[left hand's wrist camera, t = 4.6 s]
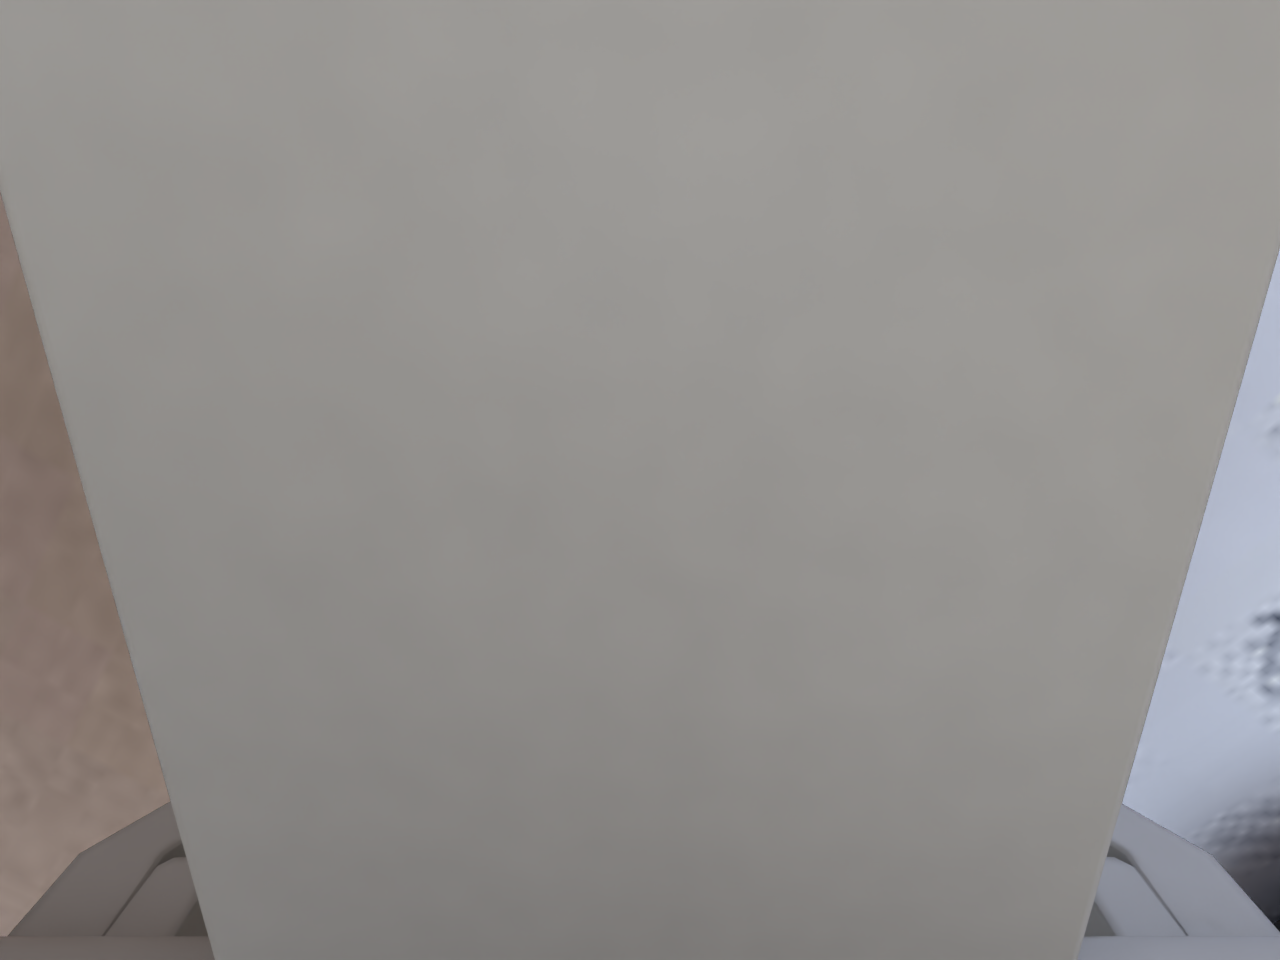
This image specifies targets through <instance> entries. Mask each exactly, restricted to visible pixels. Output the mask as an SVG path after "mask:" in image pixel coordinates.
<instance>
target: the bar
mask: <svg viewBox="0 0 1280 960" xmlns="http://www.w3.org/2000/svg"><path fill="white" fill-rule="evenodd" d="M0 192H1V196H2V200H3V203H4V207H5V210H6V214H7V217H8V221H9V225H10V228H11V232H12V235H13V239H14V242H15V246H16V250H17V253H18V257H19V260H20V264H21V268H22V271H23V275H24V278H25V282H26V285H27V289H28V293H29V296H30V300H31V303H32V307H33V310H34V314H35V318H36V321H37V325H38V328H39V332H40V335H41V339H42V343H43V346H44V350H45V353H46V357H47V361H48V364H49V368H50V371H51V375H52V378H53V382H54V386H55V389H56V393H57V396H58V400H59V403H60V407H61V411H62V414H63V418H64V421H65V425H66V429H67V432H68V436H69V439H70V443H71V446H72V450H73V454H74V457H75V461H76V464H77V468H78V471H79V475H80V479H81V482H82V486H83V489H84V493H85V497H86V500H87V504H88V507H89V511H90V514H91V518H92V522H93V525H94V529H95V532H96V536H97V539H98V543H99V547H100V550H101V554H102V557H103V561H104V565H105V568H106V572H107V575H108V579H109V582H110V586H111V590H112V593H113V597H114V600H115V604H116V607H117V611H118V615H119V618H120V622H121V625H122V629H123V633H124V636H125V640H126V643H127V647H128V650H129V654H130V658H131V661H132V665H133V668H134V672H135V675H136V679H137V683H138V686H139V690H140V693H141V697H142V701H143V704H144V708H145V711H146V715H147V718H148V722H149V726H150V729H151V733H152V736H153V740H154V743H155V747H156V751H157V754H158V758H159V761H160V765H161V769H162V772H163V776H164V779H165V783H166V786H167V790H168V794H169V797H170V801H171V804H172V808H173V811H174V815H175V819H176V822H177V826H178V829H179V833H180V837H181V840H182V844H183V847H184V851H185V854H186V858H187V862H188V865H189V869H190V872H191V876H192V879H193V883H194V887H195V890H196V894H197V897H198V901H199V905H200V908H201V912H202V915H203V919H204V922H205V926H206V930H207V933H208V937H209V940H210V944H211V947H212V951H213V955H214V958H215V960H1077V959H1078V955H1079V952H1080V948H1081V945H1082V941H1083V938H1084V934H1085V931H1086V927H1087V924H1088V920H1089V917H1090V913H1091V910H1092V906H1093V903H1094V899H1095V896H1096V892H1097V888H1098V885H1099V881H1100V878H1101V874H1102V871H1103V867H1104V864H1105V860H1106V857H1107V853H1108V850H1109V846H1110V843H1111V839H1112V836H1113V832H1114V829H1115V825H1116V822H1117V818H1118V815H1119V811H1120V808H1121V804H1122V801H1123V797H1124V794H1125V790H1126V787H1127V783H1128V780H1129V776H1130V772H1131V769H1132V765H1133V762H1134V758H1135V755H1136V751H1137V748H1138V744H1139V741H1140V737H1141V734H1142V730H1143V727H1144V723H1145V720H1146V716H1147V713H1148V709H1149V706H1150V702H1151V699H1152V695H1153V692H1154V688H1155V685H1156V681H1157V678H1158V674H1159V671H1160V667H1161V664H1162V660H1163V656H1164V653H1165V649H1166V646H1167V642H1168V639H1169V635H1170V632H1171V628H1172V625H1173V621H1174V618H1175V614H1176V611H1177V607H1178V604H1179V600H1180V597H1181V593H1182V590H1183V586H1184V583H1185V579H1186V576H1187V572H1188V569H1189V565H1190V562H1191V558H1192V555H1193V551H1194V548H1195V544H1196V540H1197V537H1198V533H1199V530H1200V526H1201V523H1202V519H1203V516H1204V512H1205V509H1206V505H1207V502H1208V498H1209V495H1210V491H1211V488H1212V484H1213V481H1214V477H1215V474H1216V470H1217V467H1218V463H1219V460H1220V456H1221V453H1222V449H1223V446H1224V442H1225V439H1226V435H1227V432H1228V428H1229V425H1230V421H1231V417H1232V414H1233V410H1234V407H1235V403H1236V400H1237V396H1238V393H1239V389H1240V386H1241V382H1242V379H1243V375H1244V372H1245V368H1246V365H1247V361H1248V358H1249V354H1250V351H1251V347H1252V344H1253V340H1254V337H1255V333H1256V330H1257V326H1258V323H1259V319H1260V316H1261V312H1262V309H1263V305H1264V301H1265V298H1266V294H1267V291H1268V287H1269V284H1270V280H1271V277H1272V273H1273V270H1274V266H1275V263H1276V259H1277V256H1278V252H1279V249H1280V0H0Z"/></svg>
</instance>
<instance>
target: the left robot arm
mask: <svg viewBox="0 0 1280 960" xmlns="http://www.w3.org/2000/svg"><path fill="white" fill-rule="evenodd" d="M0 960H215V958H214V955H213V951H212V947H211V944H210V940H209V937H208V933H207V930H206V926H205V922H204V919H203V915H202V912H201V908H200V905H199V901H198V897H197V894H196V890H195V887H194V883H193V879H192V876H191V872H190V869H189V865H188V862H187V858H186V854H185V851H184V847H183V844H182V840H181V837H180V833H179V829H178V826H177V822H176V819H175V815H174V811H173V808H172V804H171V801H170V802H168V803H167V804H165V805H163V806H162V807H160V808H158V809H156V810H155V811H153V812H151V813H149V814H148V815H146V816H144V817H142V818H141V819H139V820H137V821H135V822H134V823H132V824H130V825H128V826H127V827H125V828H123V829H121V830H120V831H118V832H116V833H114V834H113V835H111V836H109V837H107V838H106V839H104V840H102V841H101V842H99V843H97V844H95V845H94V846H92V847H90V848H88V849H87V850H85V851H83V852H81V853H80V854H79V855H78V856H77V857H76V858H75V859H74V860H73V861H72V863H71V864H70V865H69V866H68V867H67V868H66V869H65V871H64V872H63V873H62V874H61V875H60V876H59V878H58V879H57V880H56V881H55V882H54V883H53V884H52V886H51V887H50V888H49V889H48V890H47V891H46V892H45V894H44V895H43V896H42V897H41V898H40V899H39V901H38V902H37V903H36V904H35V905H34V906H33V907H32V909H31V910H30V911H29V912H28V913H27V914H26V915H25V917H24V918H23V919H22V920H21V921H20V922H19V923H18V925H17V926H16V927H15V928H14V929H13V930H12V932H11V933H10V934H9V935H8V936H0ZM1077 960H1280V932H1279V931H1278V929H1277V928H1276V927H1275V926H1274V925H1273V924H1272V923H1271V922H1270V920H1269V919H1268V918H1267V917H1266V916H1265V915H1264V914H1263V912H1262V911H1261V910H1260V909H1259V908H1258V907H1257V906H1256V904H1255V903H1254V902H1253V901H1252V900H1251V899H1250V898H1249V897H1248V895H1247V894H1246V893H1245V892H1244V891H1243V890H1242V889H1241V887H1240V886H1239V885H1238V884H1237V883H1236V882H1235V881H1234V879H1233V878H1232V877H1231V876H1230V875H1229V874H1228V873H1227V871H1226V870H1225V869H1224V868H1223V867H1222V866H1221V865H1220V864H1219V862H1218V861H1217V860H1216V859H1215V858H1214V857H1213V856H1212V855H1211V854H1209V853H1208V852H1206V851H1204V850H1202V849H1201V848H1199V847H1197V846H1195V845H1194V844H1192V843H1190V842H1188V841H1187V840H1185V839H1183V838H1181V837H1180V836H1178V835H1176V834H1174V833H1173V832H1171V831H1169V830H1167V829H1166V828H1164V827H1162V826H1160V825H1159V824H1157V823H1155V822H1153V821H1152V820H1150V819H1148V818H1146V817H1144V816H1143V815H1141V814H1139V813H1137V812H1136V811H1134V810H1132V809H1130V808H1129V807H1127V806H1125V805H1123V804H1121V808H1120V811H1119V815H1118V818H1117V822H1116V825H1115V829H1114V832H1113V836H1112V839H1111V843H1110V846H1109V850H1108V853H1107V857H1106V860H1105V864H1104V867H1103V871H1102V874H1101V878H1100V881H1099V885H1098V888H1097V892H1096V896H1095V899H1094V903H1093V906H1092V910H1091V913H1090V917H1089V920H1088V924H1087V927H1086V931H1085V934H1084V938H1083V941H1082V945H1081V948H1080V952H1079V955H1078V959H1077Z"/></svg>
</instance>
